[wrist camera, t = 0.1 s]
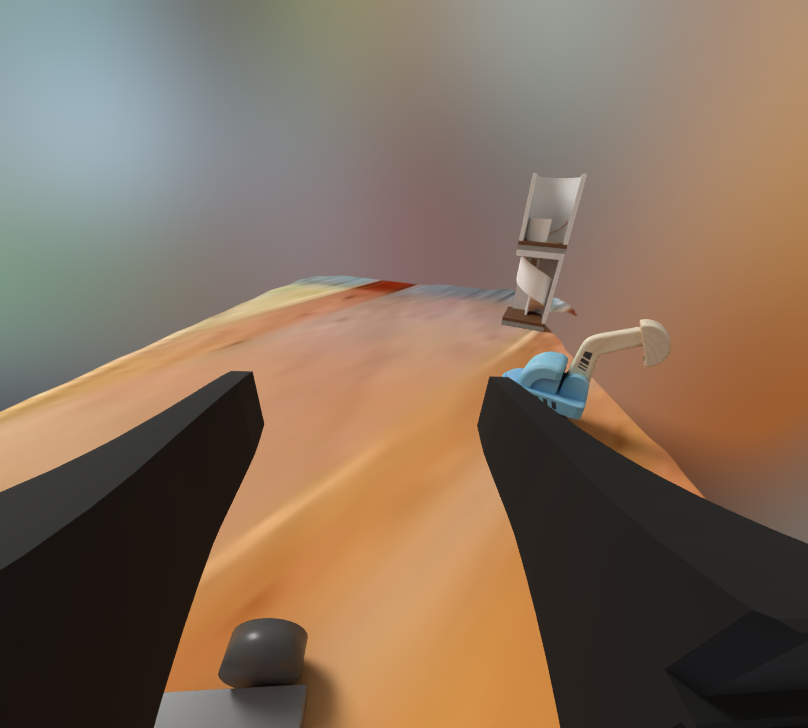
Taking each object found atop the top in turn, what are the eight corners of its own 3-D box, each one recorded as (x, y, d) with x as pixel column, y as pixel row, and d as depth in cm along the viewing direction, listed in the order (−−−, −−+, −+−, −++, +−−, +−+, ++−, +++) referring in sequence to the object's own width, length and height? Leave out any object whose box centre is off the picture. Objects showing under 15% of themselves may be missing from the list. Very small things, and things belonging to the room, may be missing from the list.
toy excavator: (618, 471, 37) (685, 340, 30) (486, 419, 45) (511, 305, 37) (619, 434, 44) (675, 318, 36) (504, 394, 52) (528, 292, 44)
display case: (507, 313, 93) (536, 178, 77) (544, 319, 89) (583, 179, 73) (501, 324, 84) (533, 172, 68) (543, 331, 80) (587, 173, 64)
